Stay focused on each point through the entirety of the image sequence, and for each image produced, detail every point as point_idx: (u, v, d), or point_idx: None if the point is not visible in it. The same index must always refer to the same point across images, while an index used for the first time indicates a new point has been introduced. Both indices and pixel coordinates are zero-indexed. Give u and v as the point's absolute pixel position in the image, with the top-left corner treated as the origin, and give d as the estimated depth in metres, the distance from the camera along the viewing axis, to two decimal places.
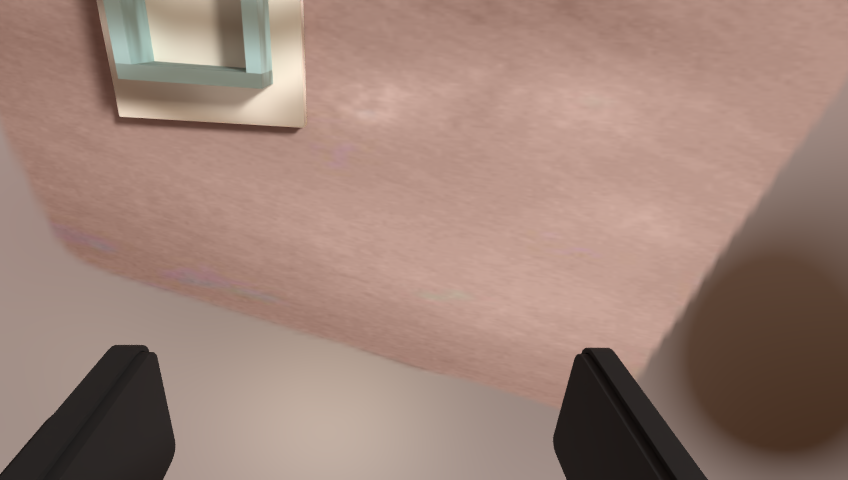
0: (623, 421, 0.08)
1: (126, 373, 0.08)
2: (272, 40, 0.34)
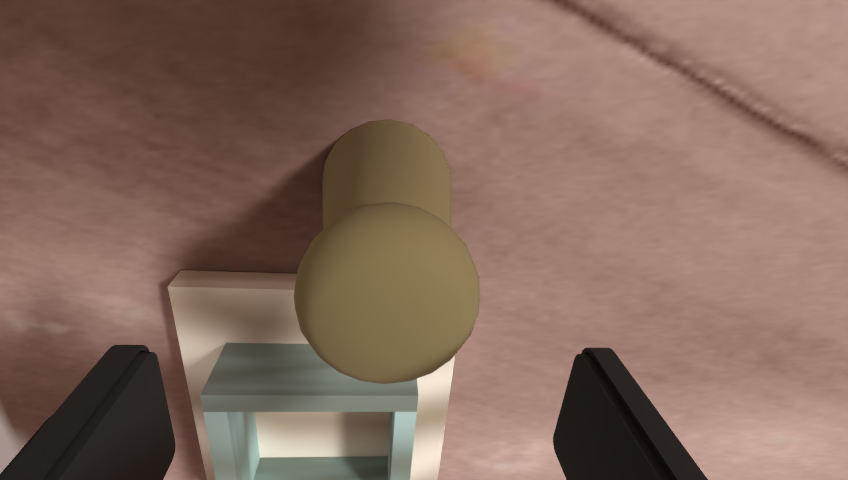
0: (623, 421, 0.08)
1: (126, 373, 0.08)
2: None
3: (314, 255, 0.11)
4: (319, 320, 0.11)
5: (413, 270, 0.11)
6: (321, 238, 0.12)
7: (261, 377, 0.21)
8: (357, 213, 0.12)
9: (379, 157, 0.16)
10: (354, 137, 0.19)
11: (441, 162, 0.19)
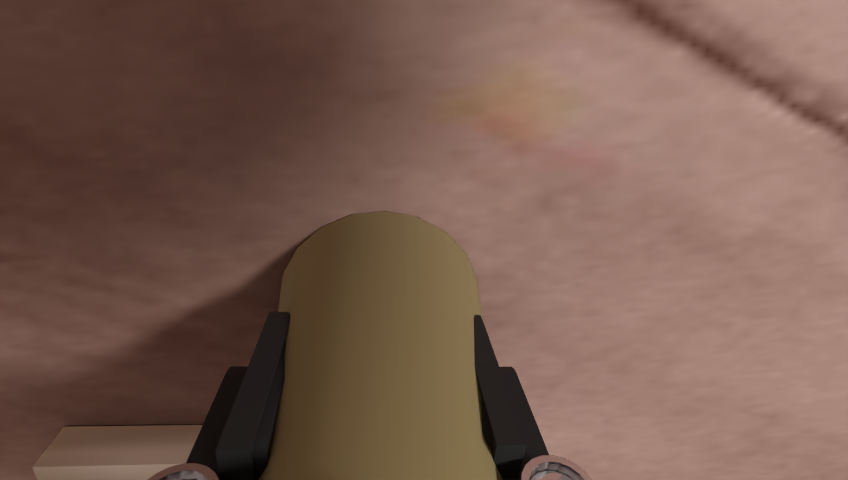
0: None
1: None
2: None
3: None
4: None
5: None
6: None
7: None
8: None
9: (365, 308, 0.09)
10: (326, 247, 0.11)
11: (468, 284, 0.12)
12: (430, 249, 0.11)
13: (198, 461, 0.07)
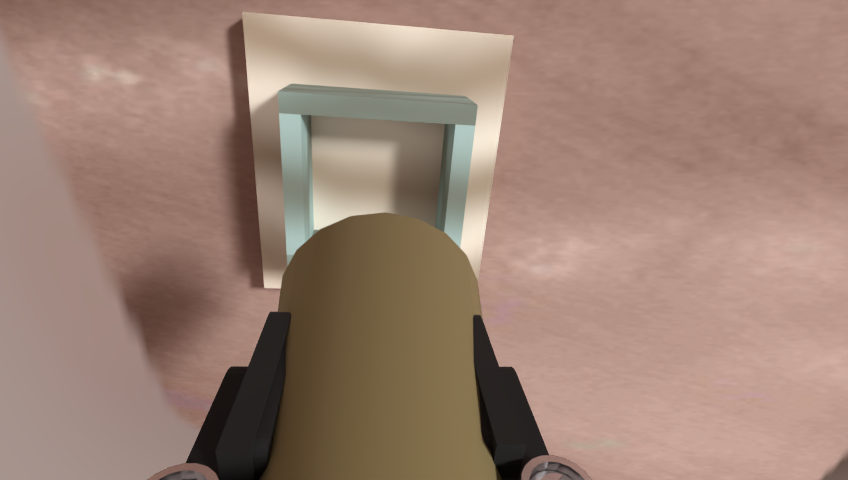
0: None
1: None
2: None
3: None
4: None
5: None
6: None
7: (330, 91, 0.22)
8: None
9: (365, 311, 0.09)
10: (326, 249, 0.11)
11: (468, 286, 0.12)
12: (430, 251, 0.11)
13: (198, 461, 0.07)
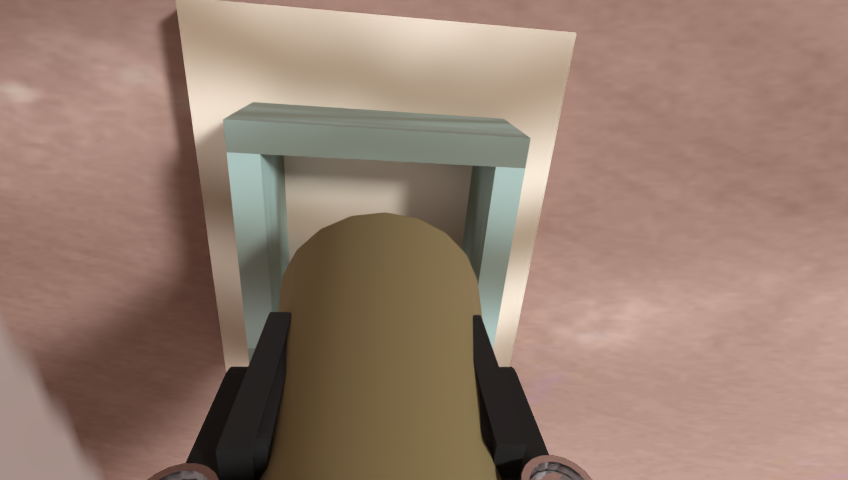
0: None
1: None
2: None
3: None
4: None
5: None
6: None
7: (307, 117, 0.15)
8: None
9: (365, 310, 0.09)
10: (326, 249, 0.11)
11: (468, 286, 0.12)
12: (430, 250, 0.11)
13: (198, 461, 0.07)
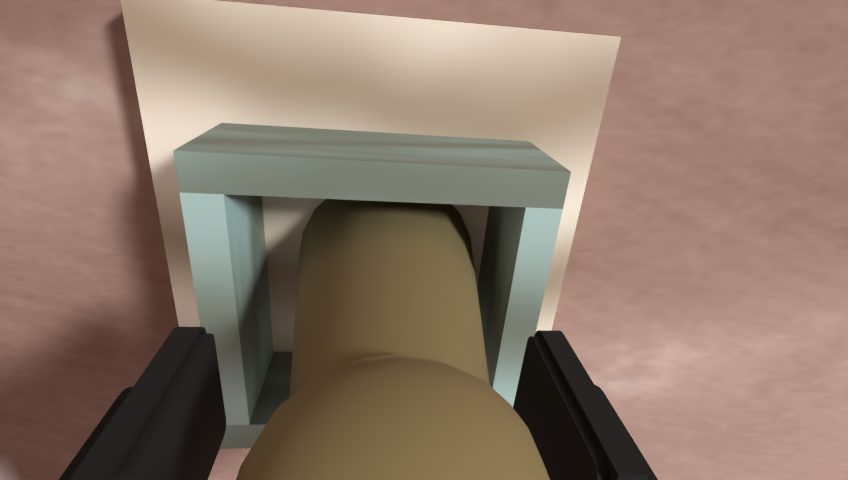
0: (562, 396, 0.09)
1: (191, 351, 0.09)
2: None
3: None
4: None
5: None
6: (270, 451, 0.06)
7: (286, 145, 0.11)
8: (338, 399, 0.06)
9: (376, 243, 0.11)
10: (341, 204, 0.14)
11: (461, 236, 0.14)
12: (429, 205, 0.14)
13: None
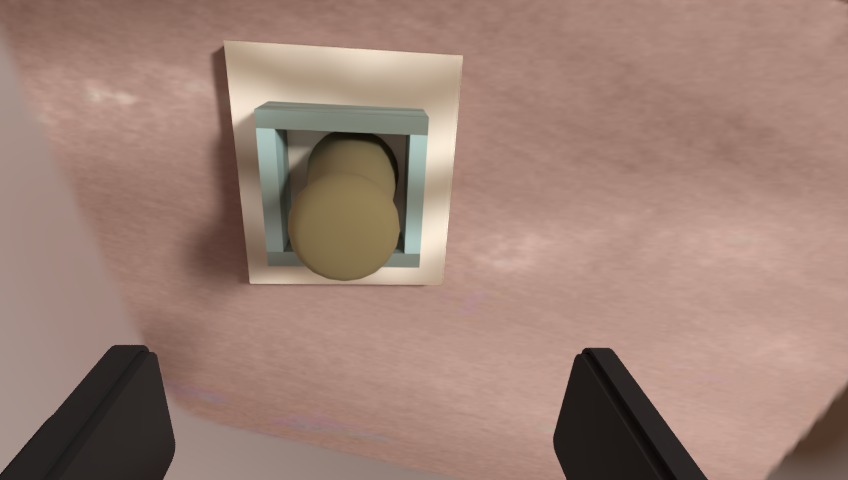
0: (623, 421, 0.08)
1: (126, 373, 0.08)
2: None
3: (299, 200, 0.20)
4: (302, 236, 0.20)
5: (354, 205, 0.19)
6: (302, 191, 0.20)
7: (301, 108, 0.25)
8: (323, 177, 0.20)
9: (342, 150, 0.25)
10: (327, 140, 0.27)
11: (388, 155, 0.28)
12: (371, 140, 0.27)
13: None
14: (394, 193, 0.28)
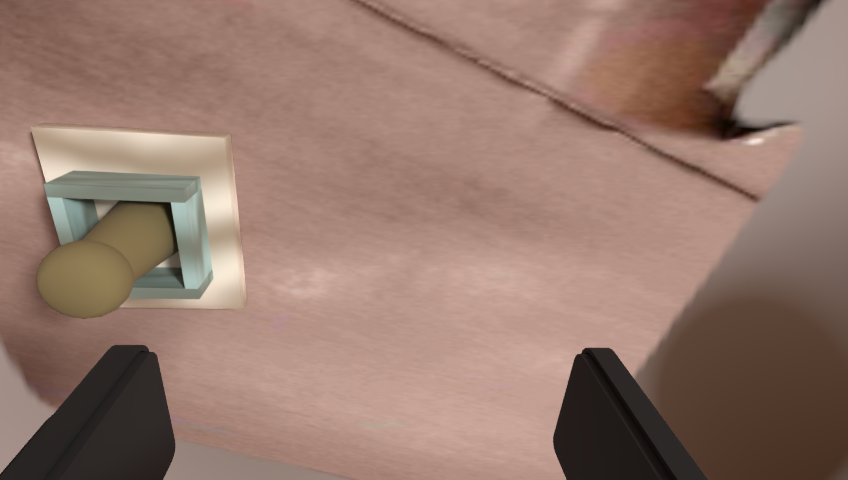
0: (623, 421, 0.08)
1: (126, 373, 0.08)
2: (211, 247, 0.39)
3: (40, 263, 0.28)
4: (41, 288, 0.28)
5: (75, 268, 0.27)
6: None
7: (86, 180, 0.33)
8: (63, 245, 0.28)
9: (115, 214, 0.33)
10: (119, 201, 0.35)
11: (167, 213, 0.36)
12: None
13: None
14: (175, 242, 0.36)
